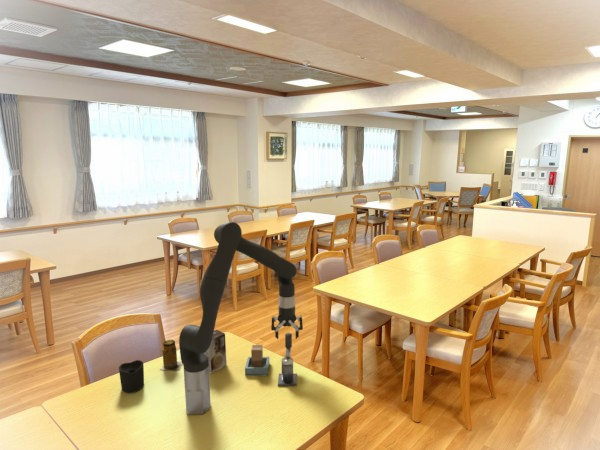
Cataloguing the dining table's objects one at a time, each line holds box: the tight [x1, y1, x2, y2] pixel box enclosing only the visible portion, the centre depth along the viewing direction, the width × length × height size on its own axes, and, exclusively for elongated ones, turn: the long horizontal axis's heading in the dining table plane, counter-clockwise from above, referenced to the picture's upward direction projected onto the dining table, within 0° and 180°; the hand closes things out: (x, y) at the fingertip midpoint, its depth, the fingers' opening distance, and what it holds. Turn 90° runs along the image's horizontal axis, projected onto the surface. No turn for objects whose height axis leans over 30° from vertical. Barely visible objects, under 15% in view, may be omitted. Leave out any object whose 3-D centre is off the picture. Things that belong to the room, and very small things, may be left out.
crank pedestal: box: [277, 364, 298, 387], centre depth 176 cm, size 24×8×8 cm, turn 0°
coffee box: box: [204, 329, 227, 374], centre depth 179 cm, size 9×6×16 cm
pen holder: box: [118, 359, 145, 394], centre depth 164 cm, size 9×9×10 cm
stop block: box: [250, 344, 264, 367], centre depth 177 cm, size 4×4×10 cm
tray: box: [244, 356, 270, 377], centre depth 178 cm, size 10×10×4 cm
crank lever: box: [281, 332, 294, 366], centre depth 173 cm, size 16×5×7 cm, turn 179°
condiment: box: [160, 339, 183, 371], centre depth 180 cm, size 7×8×12 cm
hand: (287, 338), depth 178 cm, fingers open, 8 cm apart
